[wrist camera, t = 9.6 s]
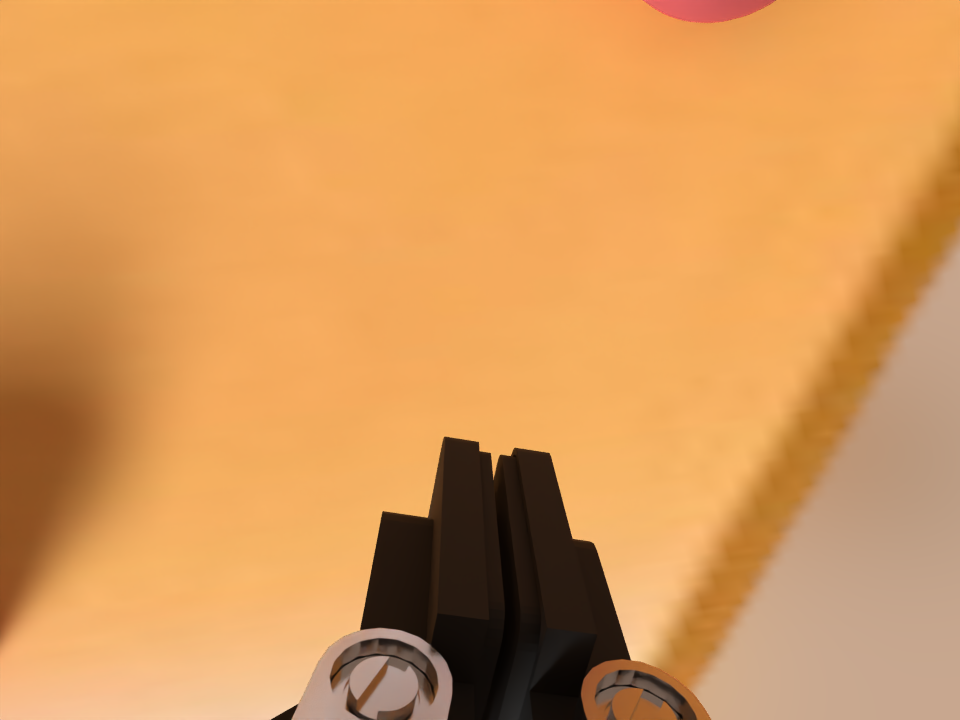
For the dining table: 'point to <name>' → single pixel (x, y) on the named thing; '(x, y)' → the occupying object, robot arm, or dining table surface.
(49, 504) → the dining table surface
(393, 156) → the dining table surface
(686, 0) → the ball
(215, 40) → the dining table surface
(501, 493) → the robot arm
